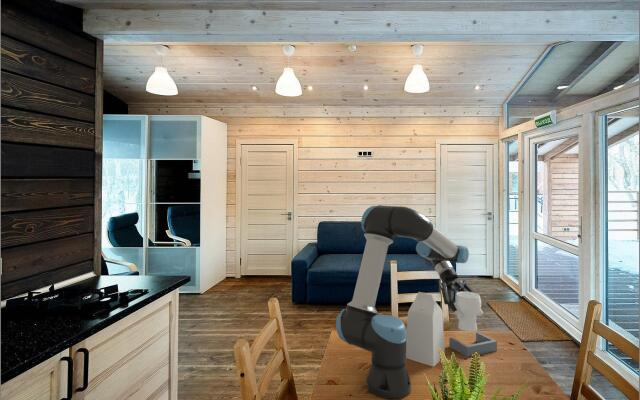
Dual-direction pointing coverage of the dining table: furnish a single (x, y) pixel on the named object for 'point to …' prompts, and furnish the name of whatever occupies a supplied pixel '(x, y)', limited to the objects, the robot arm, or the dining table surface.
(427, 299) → the milk
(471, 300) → the cup
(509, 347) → the dining table surface
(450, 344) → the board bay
